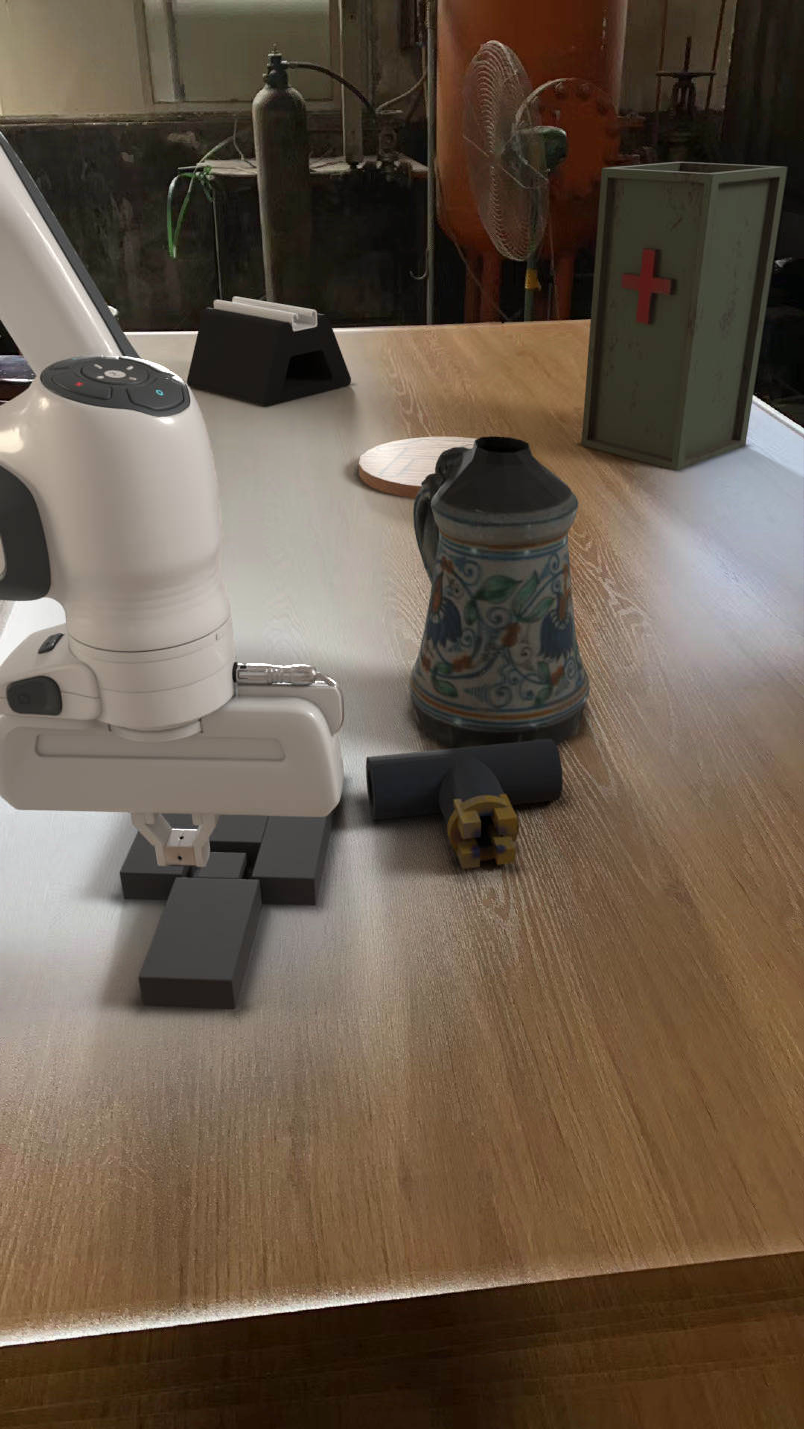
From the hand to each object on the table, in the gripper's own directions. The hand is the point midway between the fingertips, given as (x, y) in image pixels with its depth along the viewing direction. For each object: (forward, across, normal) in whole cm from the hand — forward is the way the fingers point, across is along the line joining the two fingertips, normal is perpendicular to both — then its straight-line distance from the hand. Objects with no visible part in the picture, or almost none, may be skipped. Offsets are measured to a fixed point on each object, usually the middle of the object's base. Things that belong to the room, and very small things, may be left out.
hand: (184, 860), depth 68 cm
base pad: (+9, 0, -15) cm, 18 cm away
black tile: (+9, 0, -3) cm, 10 cm away
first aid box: (+10, -48, -122) cm, 131 cm away
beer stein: (+10, -19, -36) cm, 42 cm away
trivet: (+10, -13, -107) cm, 108 cm away
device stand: (+9, +22, -160) cm, 162 cm away
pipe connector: (+10, -18, -17) cm, 26 cm away
